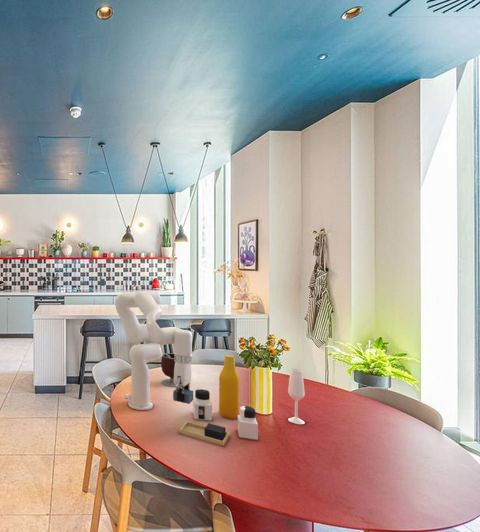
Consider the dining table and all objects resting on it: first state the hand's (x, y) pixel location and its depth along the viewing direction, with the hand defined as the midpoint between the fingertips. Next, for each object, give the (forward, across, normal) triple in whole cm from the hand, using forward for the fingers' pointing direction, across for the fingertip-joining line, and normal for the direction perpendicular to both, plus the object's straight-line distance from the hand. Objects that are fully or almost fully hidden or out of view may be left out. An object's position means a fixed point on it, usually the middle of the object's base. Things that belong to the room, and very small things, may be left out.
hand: (183, 398), depth 152 cm
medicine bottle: (+14, -12, +24) cm, 30 cm away
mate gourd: (+13, -55, -27) cm, 63 cm away
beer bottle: (+14, -28, +13) cm, 34 cm away
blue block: (+1, 0, 0) cm, 1 cm away
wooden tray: (+14, 0, +9) cm, 17 cm away
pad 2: (+13, 0, +13) cm, 19 cm away
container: (+14, -18, +3) cm, 23 cm away
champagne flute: (+14, -41, +40) cm, 58 cm away
